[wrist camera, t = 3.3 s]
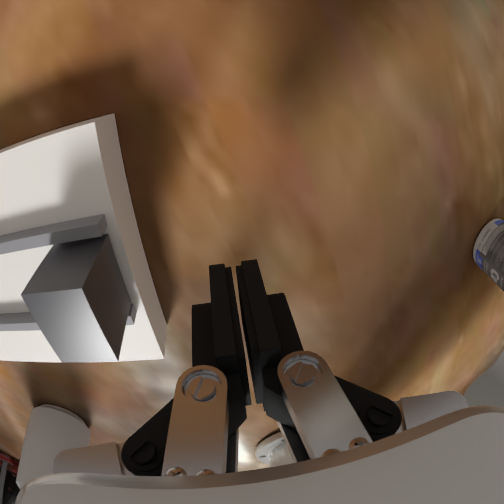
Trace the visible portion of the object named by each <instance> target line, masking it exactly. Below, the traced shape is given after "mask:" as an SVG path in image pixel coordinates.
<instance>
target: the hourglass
mask: <svg viewBox="0 0 504 504" xmlns="http://www.w3.org/2000/svg"><path fill="white" fill-rule="evenodd" d="M18 467H19V461H17V460H15V459H13V458H11V457H10V456H8V455H6V454H3V453H1V452H0V504H15V502H16V498H17V496H18V493H19V491H20V488H19V487H18V485H17V483H16V478H17V472H18Z"/></svg>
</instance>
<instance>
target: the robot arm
mask: <svg viewBox="0 0 504 504" xmlns="http://www.w3.org/2000/svg"><path fill="white" fill-rule="evenodd" d="M236 273H237V282H238V291H239V299H240V308H241V316H242V324H243V330H244V336H245V342H246V348H247V353H248V359H249V365H250V370H251V376H252V381H253V387H254V392H255V398H256V403H257V404H259V403H263V407H264V411H266V414H267V416H269V417H271V418H273V419H275V420H276V421H277V422H278V426H279V428H280V430H281V432H278V433H276V434H274V435H272V436H270V437H268V438H266V439H265V440H263V441H262V442H261V443H260V444H259V445H258V446H257V447H256V457H257V459H258V460H259V461H260V462H262V463H265V464H270V466H271V467H270V468H263V469H257V470H250V471H242V472H237V469H238V436H239V430H238V428H239V426H240V425H241V424H242V423H243V422H244V421H245V420H246V419H247V415H246V408H245V406H246V405H252V404H251V397H250V390H249V382H248V375H247V367H246V359H245V352H244V346H243V340H242V334H241V328H240V322H239V315H238V309H237V303H236V296H235V290H234V284H233V277H232V271H231V267H226V268H225V265H224V264H217V265H209V275H210V292H211V303H205V304H197V305H192V368H189V369H188V370H186V371H185V372H183V374H182V375H181V376H180V377H179V379H178V381H177V384H176V389H175V395H174V398H173V399H172V400H171V401H170V402H169V403H168V404H167V405H165V406H164V407H163V408H162V409H161V410H160V411H159V412H158V413H157V414H155V415H154V416H153V417H152V418H151V419H150V420H149V421H148V422H147V423H145V424H144V425H143V426H142V427H141V428H140V429H139V430H137V431H136V432H135V433H134V434H133V435H132V436H131V437H129V438H128V440H127V441H126V442H124V443H119V444H117V443H116V442H111V443H106V444H100V445H94V446H88V447H81V448H74V449H66V450H64V451H61V452H60V453H59V454H57V455H56V457H55V459H54V462H53V472H54V474H50V475H45V476H41V477H38V478H35V479H33V480H31V481H29V482H28V483H26V484H25V485H24V486H23V487H22V488H21V490H20V491H19V493H18V496H17V498H16V502H15V504H504V408H502V407H497V406H475V407H468V404H467V402H466V400H465V398H464V397H463V396H462V395H461V394H460V393H458V392H455V391H445V392H440V393H433V394H427V395H420V396H412V397H404V398H400V400H399V401H391V400H390V399H388V398H386V397H383V396H381V395H378V394H376V393H373V392H371V391H369V390H366V389H364V388H362V387H359V386H357V385H355V384H352V383H350V382H348V381H346V380H343V379H341V378H339V377H337V376H334V375H333V373H332V371H331V370H330V368H329V366H328V364H327V363H326V361H325V360H324V359H323V358H322V357H321V356H319V355H318V354H316V353H313V352H310V351H304V350H303V347H302V344H301V341H300V338H299V335H298V332H297V329H296V326H295V323H294V321H293V318H292V315H291V312H290V309H289V306H288V303H287V300H286V297H285V295H284V293H278V294H271V295H267V294H266V291H265V287H264V284H263V280H262V276H261V273H260V269H259V266H258V262H257V259H255V260H248V261H241V266H236Z"/></svg>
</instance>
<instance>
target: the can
mask: <svg viewBox="0 0 504 504" xmlns="http://www.w3.org/2000/svg"><path fill="white" fill-rule="evenodd" d="M89 441H90V430H89V429H88V427H87V426H86V425H85V423H84V421H83V420H82V419H81V418H80V417H79V416H77V415H76V414H74V413H72V412H71V411H68V410H66V409H64V408H61V407H58V406H54V405H49V404H47V405H41V406H39V407H35V408H33V409H32V411H31V415H30V419H29V422H28V426H27V430H26V434H25V438H24V443H23V447H22V452H21V457H20V462H19V467H18V472H17V478H16V483H17V485H18V487H19V488H20V490H21V488H22V487H23V486H24V485H25V484H26V483H28V482H29V481H31V480H33V479H35V478H38V477H41V476H45V475H50V474H54V472H53V462H54V459H55V457H56V455H57V454H59V453H60V452H61V451H64V450H66V449H74V448H81V447H88V446H89Z"/></svg>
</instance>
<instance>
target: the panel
mask: <svg viewBox="0 0 504 504" xmlns="http://www.w3.org/2000/svg"><path fill="white" fill-rule="evenodd" d="M103 234H109V238H110V241H111V244H112V247H113V250H114V253H115V256H116V259H117V263H118V265H119V268H120V271H121V274H122V277H123V280H124V283H125V286H126V288H127V291H128V294H129V296H130V299H131V305H130V309H129V313H128V318H127V322H126V327H125V331H124V336H123V341H122V345H121V350H120V355H119V361H136V360H152V359H164V355H165V342H166V330H167V324H166V321H165V318H164V315H163V312H162V309H161V306H160V303H159V300H158V296H157V293H156V290H155V287H154V284H153V280H152V277H151V273H150V270H149V267H148V263H147V260H146V256H145V252H144V249H143V245H142V241H141V238H140V234H139V230H138V226H137V222H136V218H135V214H134V210H133V206H132V201H131V197H130V193H129V188H128V184H127V179H126V174H125V169H124V164H123V159H122V154H121V149H120V143H119V138H118V132H117V126H116V120H115V114H114V113H113V114H109V115H105V116H101V117H97V118H93V119H90V120H86V121H82V122H79V123H75V124H72V125H68V126H65V127H62V128H59V129H56V130H52V131H49V132H46V133H43V134H40V135H38V136H35V137H32V138H29V139H26V140H24V141H21V142H18V143H16V144H13V145H11V146H8V147H6V148H3V149H1V150H0V360H5V361H24V362H61V360H60V359H59V357H58V356H57V355H56V353H55V352H54V350H53V349H52V347H51V345H50V344H49V342H48V341H47V339H46V338H45V336H44V334H43V333H42V331H41V330H40V328H39V326H38V325H37V323H36V321H35V320H34V318H33V316H32V314H31V313H30V311H29V309H28V307H27V306H26V304H25V302H24V300H23V298H22V296H21V293H22V292H23V290H24V289H25V287H26V285H27V284H28V282H29V281H30V279H31V277H32V276H33V274H34V273H35V271H36V270H37V268H38V267H39V265H40V264H41V262H42V261H43V259H44V258H45V256H46V255H47V253H48V252H49V250H50V249H51V248H52V246H53V245H54V244H59V243H65V242H71V241H77V240H83V239H89V238H95V237H101V236H102V235H103Z"/></svg>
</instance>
